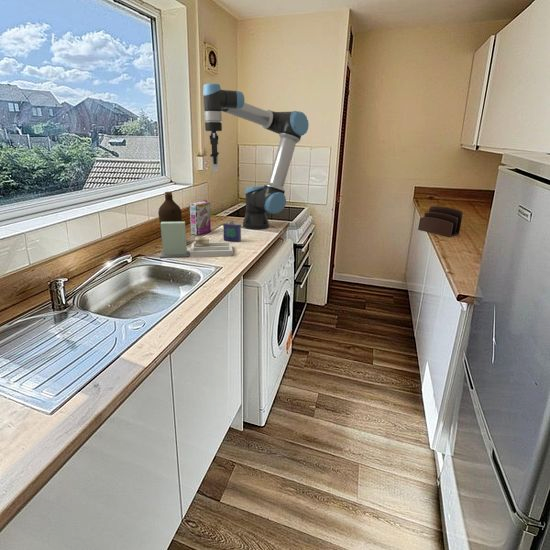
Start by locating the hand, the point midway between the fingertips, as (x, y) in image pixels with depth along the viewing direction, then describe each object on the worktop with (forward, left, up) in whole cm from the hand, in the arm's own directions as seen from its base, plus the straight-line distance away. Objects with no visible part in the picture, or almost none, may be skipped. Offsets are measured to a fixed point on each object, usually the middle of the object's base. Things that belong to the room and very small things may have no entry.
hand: (215, 170), depth 177 cm
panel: (+19, +22, -34) cm, 45 cm away
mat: (+19, +22, -34) cm, 45 cm away
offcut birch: (+7, +17, -32) cm, 36 cm away
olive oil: (+22, +5, -35) cm, 41 cm away
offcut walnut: (+7, +16, -35) cm, 39 cm away
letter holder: (-125, -7, -35) cm, 130 cm away
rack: (+3, +20, -34) cm, 40 cm away
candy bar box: (+9, -15, -35) cm, 39 cm away
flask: (-7, +2, -35) cm, 35 cm away
